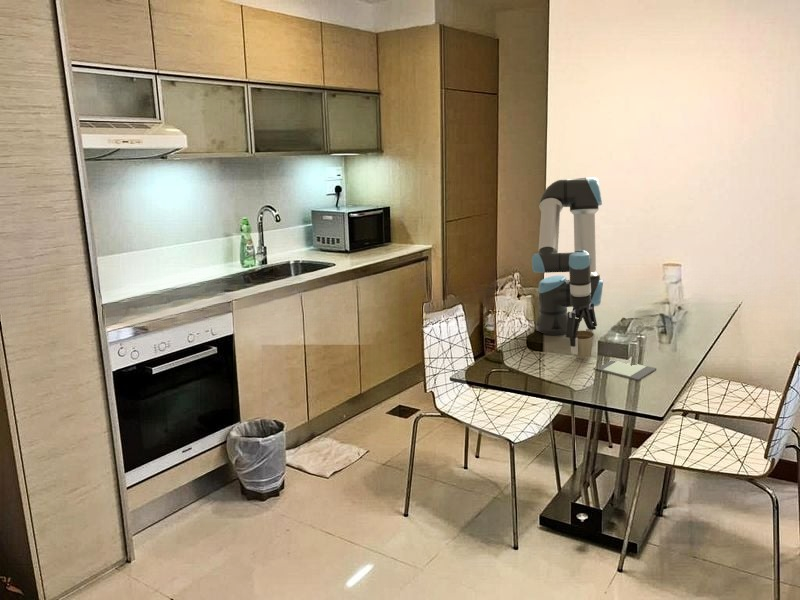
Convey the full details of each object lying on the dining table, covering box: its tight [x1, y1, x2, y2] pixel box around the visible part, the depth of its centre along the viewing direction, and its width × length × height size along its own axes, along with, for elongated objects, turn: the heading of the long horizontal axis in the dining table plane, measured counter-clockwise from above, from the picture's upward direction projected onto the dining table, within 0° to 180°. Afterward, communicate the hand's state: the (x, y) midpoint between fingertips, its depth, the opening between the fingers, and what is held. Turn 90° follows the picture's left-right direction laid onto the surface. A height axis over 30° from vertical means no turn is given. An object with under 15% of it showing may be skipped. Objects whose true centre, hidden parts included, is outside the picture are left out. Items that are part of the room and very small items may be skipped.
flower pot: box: [573, 329, 596, 359], centre depth 254 cm, size 9×9×9 cm
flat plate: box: [593, 361, 657, 381], centre depth 242 cm, size 12×18×1 cm, turn 40°
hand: (582, 349), depth 254 cm, fingers closed on flower pot, 9 cm apart
